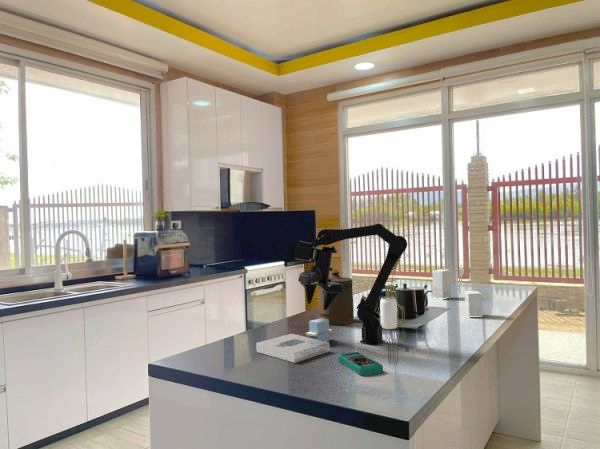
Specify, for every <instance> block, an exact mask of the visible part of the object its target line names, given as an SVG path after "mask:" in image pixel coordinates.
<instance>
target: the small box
mask: <svg viewBox="0 0 600 449" xmlns="http://www.w3.org/2000/svg"><path fill="white" fill-rule="evenodd" d="M464 304H465V305H464V309H465V310H464V311H465V312H466V313H467V314H468V315H469V316H483V317H484V315H483V294H482V293H481V292H480V291H478V290H465V291H464ZM465 312H464V313H465Z"/></svg>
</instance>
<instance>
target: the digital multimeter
mask: <svg viewBox="0 0 600 449" xmlns="http://www.w3.org/2000/svg"><path fill="white" fill-rule="evenodd" d="M337 356H338V360H337V361H338V363H340V364H341V365H343V366H345V367H346V368H349V369H350V370H352V371H353V372H355V373H356V374H357V375H358V376H360V377H361V376H363V377H364V376H372V375H378V374H381V373H383V372H384V365H383V364H382V363H380V362H378V361H376V360H374V359H372V358H370V357H369V356H367V355H365V354H363V353H362V352H360V351H352V352H351V351H350V352H344V353H341V354H339V355H337Z"/></svg>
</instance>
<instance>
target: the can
mask: <svg viewBox="0 0 600 449" xmlns="http://www.w3.org/2000/svg"><path fill="white" fill-rule="evenodd" d="M379 301H380V302H379V305H380V306H379V307H380V309H379V310H380V311H379V312H380V314H379V315H380V316H381V319H380V325H382V330H383V329H384V330H396V329H397V328H398V306H397V305H398V304H397V303H398V302H397V300H396V297H395V296H391V295H390V296H388V295H387V296H381V297H380V300H379Z"/></svg>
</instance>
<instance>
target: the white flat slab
mask: <svg viewBox="0 0 600 449" xmlns="http://www.w3.org/2000/svg"><path fill="white" fill-rule="evenodd" d="M308 337H309V336H304V335H300V334H294V333H289V334H286V335H285V334H284V335H281V336H278V337H273V338H270V339H265V340H262V341H258V342H256V344H255V346H256V353H258V354H263V355H265V356H270V357H273V358H276V359H279V360H282V361H287V362H290V363H292V364H293V363H294V364H296V363H298V362H302V361H305V360H308V359H311V358H314V357H316V356H317V357H318V356H320V355H323V354H327V353H329V352H330V348H331V347H330V345H331V344H330V341H327V342H326V341H322V340H317V339H313V338H308Z"/></svg>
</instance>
